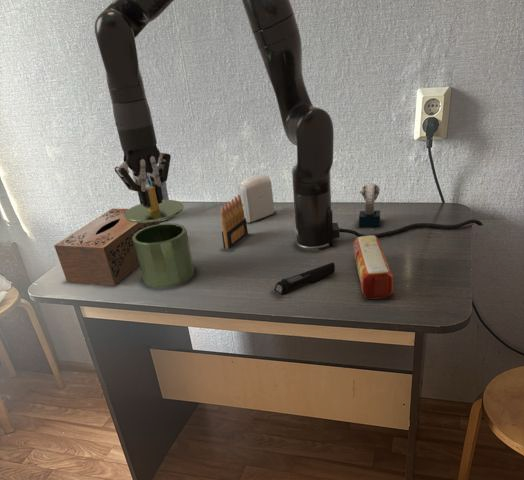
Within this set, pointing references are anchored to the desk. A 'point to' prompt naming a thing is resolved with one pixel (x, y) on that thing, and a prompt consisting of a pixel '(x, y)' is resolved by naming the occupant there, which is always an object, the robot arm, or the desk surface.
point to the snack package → (372, 268)
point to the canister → (163, 254)
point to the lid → (153, 209)
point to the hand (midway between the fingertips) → (152, 204)
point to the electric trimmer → (304, 278)
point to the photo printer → (256, 197)
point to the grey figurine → (369, 207)
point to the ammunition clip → (233, 222)
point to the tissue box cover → (101, 250)
